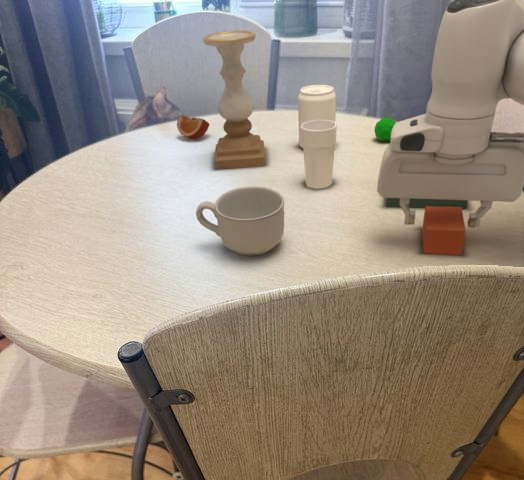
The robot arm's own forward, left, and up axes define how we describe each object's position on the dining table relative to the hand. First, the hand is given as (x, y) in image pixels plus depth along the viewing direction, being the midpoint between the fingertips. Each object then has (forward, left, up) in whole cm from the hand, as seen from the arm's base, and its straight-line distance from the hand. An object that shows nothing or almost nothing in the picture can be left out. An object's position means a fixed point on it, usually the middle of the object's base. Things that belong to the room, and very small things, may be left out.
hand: (440, 224), depth 82 cm
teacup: (+31, +4, -3) cm, 31 cm away
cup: (+22, -22, -3) cm, 31 cm away
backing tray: (+2, -23, -3) cm, 23 cm away
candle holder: (+41, -35, -3) cm, 54 cm away
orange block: (0, 0, -3) cm, 3 cm away
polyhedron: (+10, -47, -3) cm, 48 cm away
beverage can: (+25, -43, -3) cm, 50 cm away
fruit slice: (+56, -49, -3) cm, 74 cm away
